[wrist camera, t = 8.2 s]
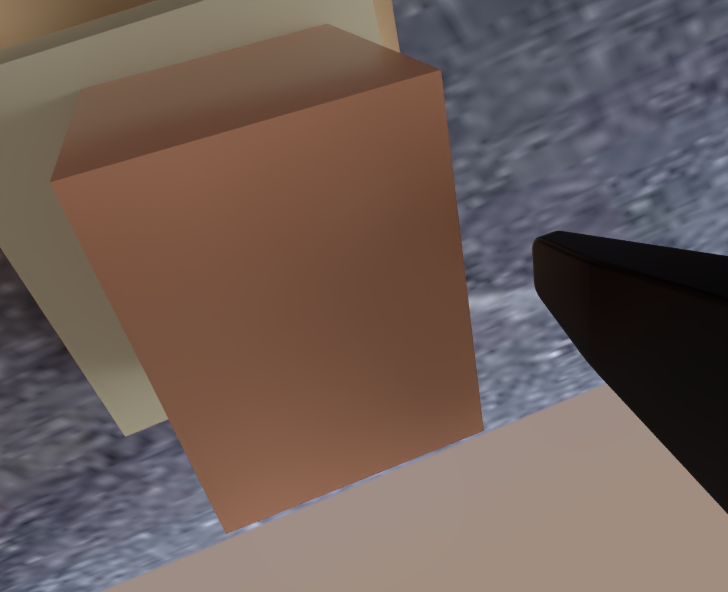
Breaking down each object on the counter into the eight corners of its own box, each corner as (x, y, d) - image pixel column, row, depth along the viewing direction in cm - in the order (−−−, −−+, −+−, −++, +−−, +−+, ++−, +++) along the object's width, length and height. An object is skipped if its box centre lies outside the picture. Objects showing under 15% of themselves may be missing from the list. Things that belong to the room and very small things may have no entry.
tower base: (337, -94, 16) (375, -101, 13) (401, 244, 21) (437, 284, 19) (-72, 5, 14) (-115, 19, 12) (110, 344, 20) (107, 402, 17)
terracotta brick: (327, 23, 11) (441, 69, 7) (383, 292, 15) (483, 430, 10) (80, 89, 11) (49, 182, 6) (197, 357, 14) (226, 534, 10)
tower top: (319, -51, 13) (361, -50, 11) (396, 257, 18) (439, 308, 15) (-54, 65, 12) (-100, 96, 10) (126, 363, 17) (125, 436, 14)
